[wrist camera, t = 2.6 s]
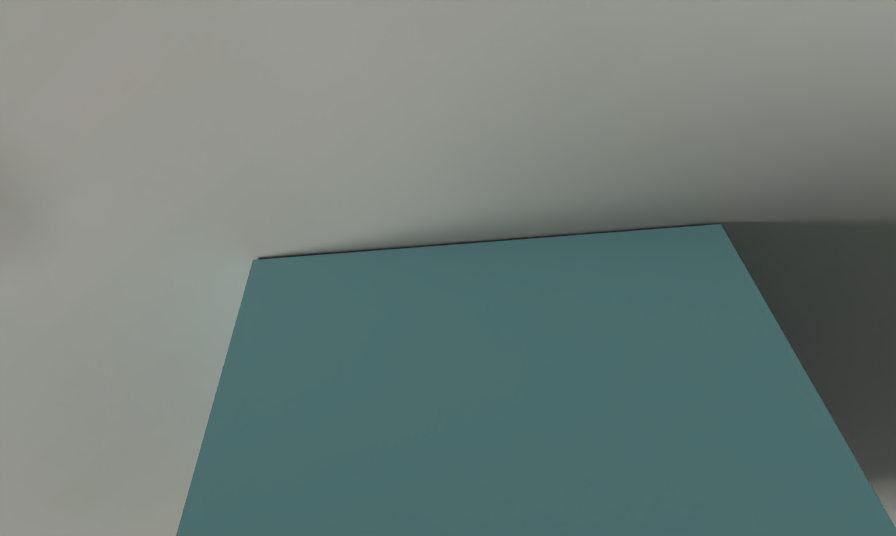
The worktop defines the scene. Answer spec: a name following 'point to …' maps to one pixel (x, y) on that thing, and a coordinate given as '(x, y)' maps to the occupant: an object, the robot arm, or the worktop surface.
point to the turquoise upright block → (521, 398)
